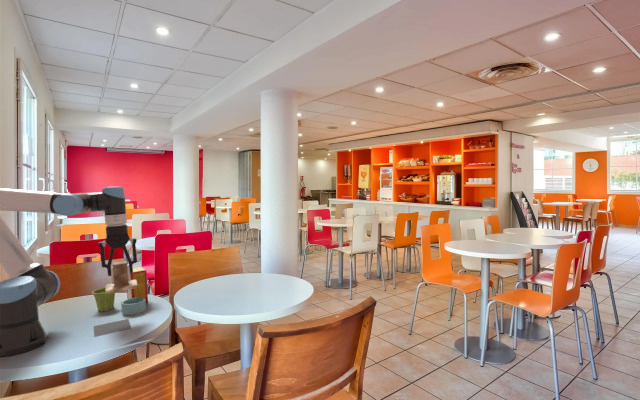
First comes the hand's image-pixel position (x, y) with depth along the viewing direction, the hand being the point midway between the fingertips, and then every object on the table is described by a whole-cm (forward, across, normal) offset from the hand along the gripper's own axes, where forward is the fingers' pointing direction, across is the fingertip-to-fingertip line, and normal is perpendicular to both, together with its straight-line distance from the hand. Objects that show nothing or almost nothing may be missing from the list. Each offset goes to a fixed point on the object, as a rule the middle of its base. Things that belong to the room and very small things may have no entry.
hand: (121, 282), depth 143 cm
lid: (+2, 0, 0) cm, 2 cm away
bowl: (+16, +4, +10) cm, 19 cm away
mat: (+16, -4, -6) cm, 18 cm away
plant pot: (+16, -7, +22) cm, 28 cm away
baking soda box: (+17, +6, +24) cm, 30 cm away
